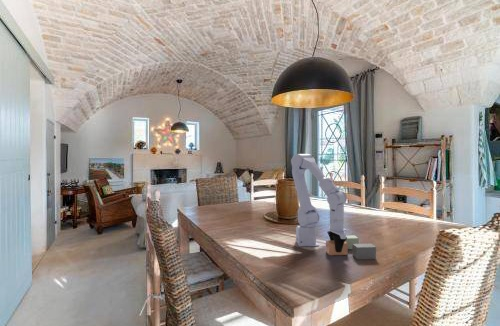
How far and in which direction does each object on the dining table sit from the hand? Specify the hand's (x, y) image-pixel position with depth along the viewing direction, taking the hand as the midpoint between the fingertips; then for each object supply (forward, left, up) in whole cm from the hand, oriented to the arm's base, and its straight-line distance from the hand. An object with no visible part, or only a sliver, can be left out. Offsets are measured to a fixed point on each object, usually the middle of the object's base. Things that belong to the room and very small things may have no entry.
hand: (336, 249), depth 108 cm
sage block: (+8, +6, -2) cm, 10 cm away
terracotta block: (0, 0, -1) cm, 1 cm away
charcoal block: (+10, -5, -2) cm, 11 cm away
